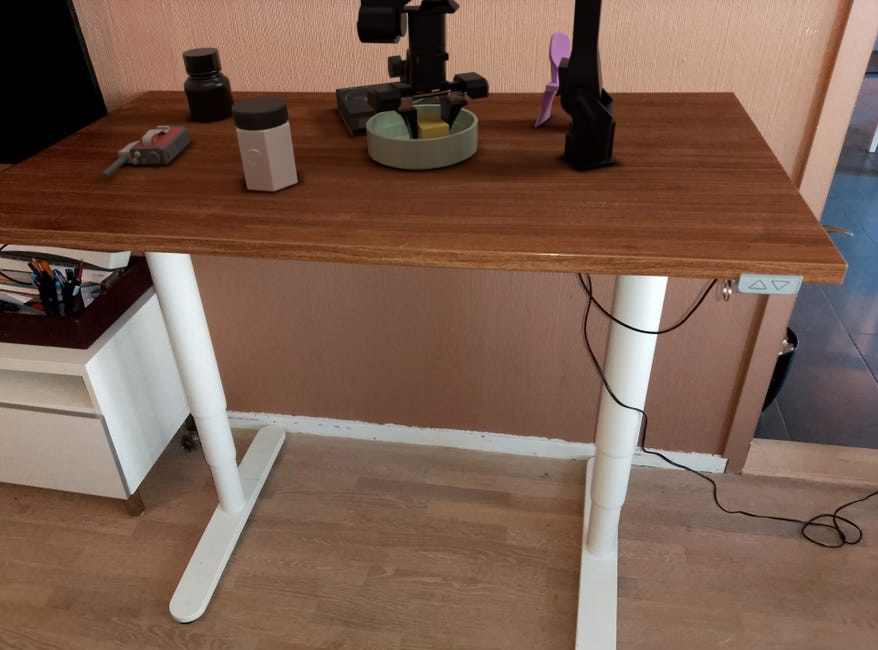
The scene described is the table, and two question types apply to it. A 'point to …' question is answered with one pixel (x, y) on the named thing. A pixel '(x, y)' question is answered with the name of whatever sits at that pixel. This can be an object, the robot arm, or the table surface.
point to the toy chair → (553, 72)
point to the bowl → (420, 141)
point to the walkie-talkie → (153, 148)
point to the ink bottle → (206, 85)
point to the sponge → (431, 126)
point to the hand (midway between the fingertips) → (429, 145)
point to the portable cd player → (365, 106)
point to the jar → (265, 143)
